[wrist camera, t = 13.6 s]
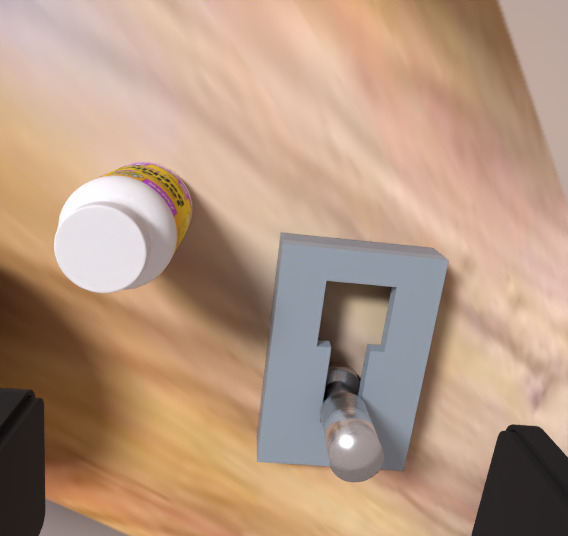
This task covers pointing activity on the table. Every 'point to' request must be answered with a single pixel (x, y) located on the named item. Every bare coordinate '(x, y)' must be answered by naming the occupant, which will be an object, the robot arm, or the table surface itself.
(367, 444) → the stud
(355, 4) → the table surface
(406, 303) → the keyhole plate
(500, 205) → the table surface
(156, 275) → the supplement bottle
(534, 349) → the table surface
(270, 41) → the table surface
